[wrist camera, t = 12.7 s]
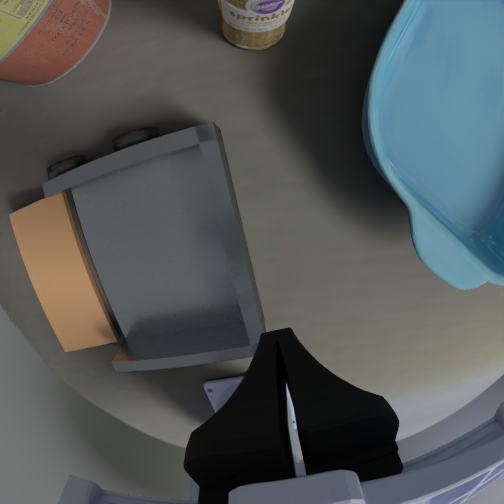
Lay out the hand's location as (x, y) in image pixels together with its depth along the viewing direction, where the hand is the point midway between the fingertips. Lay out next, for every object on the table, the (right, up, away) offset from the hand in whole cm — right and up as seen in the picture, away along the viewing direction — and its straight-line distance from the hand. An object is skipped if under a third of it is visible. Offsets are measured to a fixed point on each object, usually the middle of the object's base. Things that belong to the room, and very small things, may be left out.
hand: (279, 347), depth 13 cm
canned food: (-18, +24, +2) cm, 30 cm away
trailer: (-8, +4, +9) cm, 12 cm away
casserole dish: (+20, +20, +5) cm, 28 cm away
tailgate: (-14, +3, +9) cm, 17 cm away
